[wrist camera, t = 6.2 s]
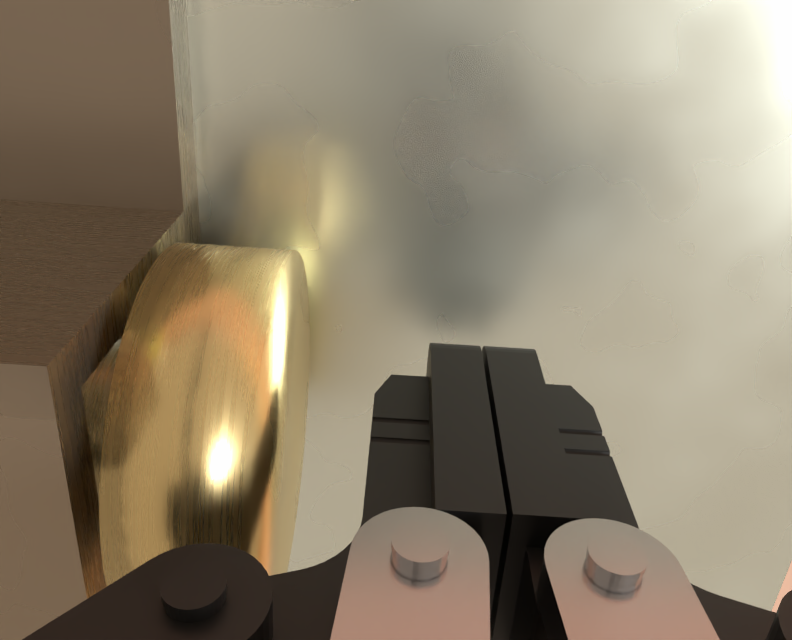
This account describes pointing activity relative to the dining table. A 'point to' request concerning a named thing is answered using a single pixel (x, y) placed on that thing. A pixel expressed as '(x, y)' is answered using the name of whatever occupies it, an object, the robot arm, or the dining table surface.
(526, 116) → the hinge
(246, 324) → the hinge pin
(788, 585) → the dining table surface
